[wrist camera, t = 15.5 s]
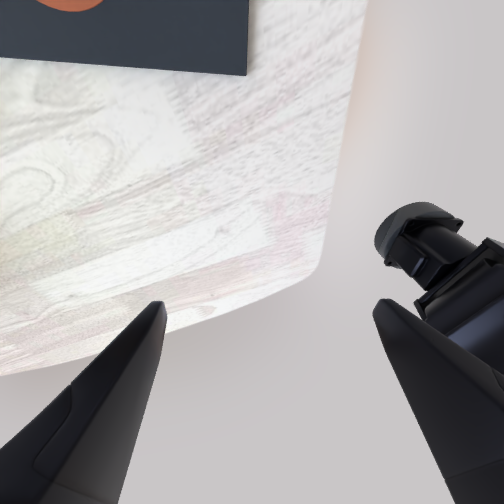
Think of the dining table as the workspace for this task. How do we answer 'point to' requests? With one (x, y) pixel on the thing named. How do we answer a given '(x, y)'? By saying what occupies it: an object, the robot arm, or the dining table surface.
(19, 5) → the placemat
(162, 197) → the dining table surface
